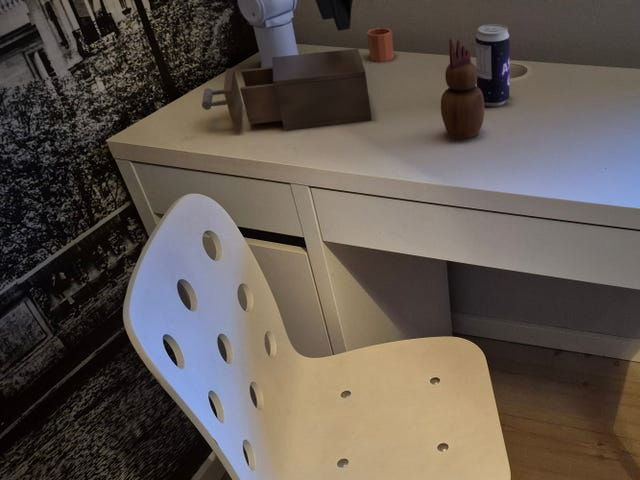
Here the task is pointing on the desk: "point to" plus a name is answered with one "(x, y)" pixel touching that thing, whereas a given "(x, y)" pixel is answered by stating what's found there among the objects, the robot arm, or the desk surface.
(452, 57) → the wooden figurine
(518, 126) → the desk surface
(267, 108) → the drawer
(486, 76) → the beverage can
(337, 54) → the cabinet
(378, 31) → the cup
